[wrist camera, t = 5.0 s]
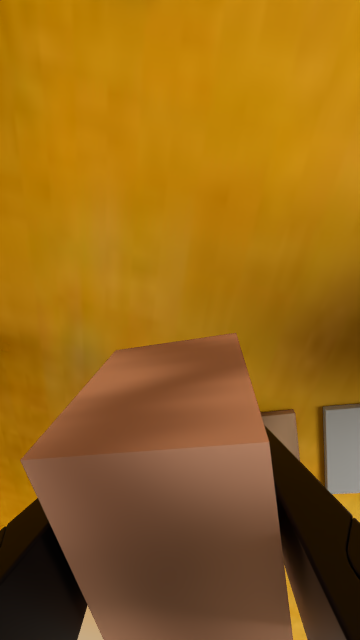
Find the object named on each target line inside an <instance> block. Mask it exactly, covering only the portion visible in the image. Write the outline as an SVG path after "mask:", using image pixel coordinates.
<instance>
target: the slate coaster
mask: <svg viewBox="0 0 360 640" xmlns="http://www.w3.org/2000/svg"><path fill="white" fill-rule="evenodd" d="M323 425H324V461H325V488H326V489H327V490H328V491H329V492H330V493H331V494H340V493H360V404H349V405H336V406H324V407H323Z"/></svg>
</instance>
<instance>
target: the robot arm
mask: <svg viewBox="0 0 360 640" xmlns="http://www.w3.org/2000/svg"><path fill="white" fill-rule="evenodd" d="M264 427H265V430H266V433H267V436H268V440H269V445H270V453H271V461H272V470H273V478H274V486H275V494H276V503H277V511H278V519H279V528H280V536H281V544H282V553H283V561H284V565H285V568H286V572H287V575H288V578H289V581H290V584H291V588H292V591H293V594H294V597H295V600H296V604H297V607H298V610H299V613H300V616H301V620H302V623H303V626H304V629H305V632H306V636H307V639H308V640H360V523H359V522H358V520H357V519H355V518H353V516H352V514H351V513H350V512H349V511H348V510H347V509H346V508H345V507H344V506H343V505H342V504H341V503H340V502H339V501H338V500H337V499H336V498H335V497H334V496H333V495H332V494H331V493H330V492H329V491H328V490H327V489H326V488H325V487H324V486H323V485H322V484H321V482H320V481H319V480H318V479H317V478H316V477H315V476H314V475H313V474H312V473H311V472H310V471H309V470H308V469H307V468H306V467H305V466H304V465H303V464H302V463H301V462H300V461H299V460H298V459H297V458H296V457H295V456H294V455H293V454H292V453H291V452H290V451H289V449H288V448H287V447H286V446H285V445H284V444H283V443H282V442H281V441H280V440H279V439H278V438H277V437H276V436H275V435H274V434H273V433H272V432H271V431H270V430H269V429H268V428H267V427H266V426H265V425H264ZM86 608H87V602H86V600H85V598H84V596H83V594H82V592H81V590H80V587H79V585H78V583H77V581H76V579H75V577H74V574H73V572H72V570H71V568H70V566H69V564H68V562H67V559H66V557H65V555H64V553H63V551H62V549H61V546H60V544H59V542H58V540H57V538H56V536H55V534H54V531H53V529H52V527H51V525H50V523H49V521H48V519H47V516H46V514H45V512H44V510H43V508H42V506H41V503H40V501H39V499H38V498H37V499H36V500H35V501H34V502H33V503H32V504H30V505H29V506H28V507H27V508H26V509H25V510H23V511H22V512H21V513H20V514H19V515H18V516H16V517H15V518H14V519H13V520H12V521H11V522H9V523H8V525H7V527H4V528H2V529H1V530H0V640H77V639H78V635H79V632H80V629H81V625H82V622H83V618H84V615H85V612H86Z"/></svg>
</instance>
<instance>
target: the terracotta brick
mask: <svg viewBox="0 0 360 640" xmlns="http://www.w3.org/2000/svg"><path fill="white" fill-rule="evenodd" d="M21 463H22V465H23V467H24V469H25V471H26V473H27V475H28V478H29V480H30V482H31V484H32V486H33V488H34V491H35V493H36V495H37V497H38V499H39V501H40V503H41V506H42V508H43V510H44V512H45V514H46V516H47V519H48V521H49V523H50V525H51V527H52V529H53V531H54V534H55V536H56V538H57V540H58V542H59V544H60V546H61V549H62V551H63V553H64V555H65V557H66V559H67V562H68V564H69V566H70V568H71V570H72V572H73V574H74V577H75V579H76V581H77V583H78V585H79V587H80V590H81V592H82V594H83V596H84V598H85V600H86V602H87V605H88V607H89V609H90V611H91V613H92V615H93V617H94V619H95V622H96V624H97V626H98V628H99V630H100V633H101V635H102V637H103V639H104V640H293V636H292V628H291V619H290V611H289V603H288V594H287V586H286V578H285V569H284V561H283V553H282V544H281V536H280V528H279V519H278V511H277V503H276V494H275V486H274V478H273V470H272V461H271V453H270V445H269V440H268V436H267V433H266V430H265V427H264V423H263V420H262V417H261V413H260V410H259V407H258V404H257V400H256V397H255V394H254V390H253V387H252V384H251V381H250V377H249V374H248V371H247V367H246V364H245V361H244V358H243V354H242V351H241V348H240V344H239V341H238V338H237V335H236V333H233V334H226V335H219V336H212V337H205V338H198V339H191V340H184V341H177V342H171V343H164V344H157V345H150V346H143V347H136V348H129V349H122V350H116V351H115V352H114V353H113V354H112V355H111V356H110V358H109V359H108V360H107V361H106V362H105V363H104V365H103V366H102V367H101V368H100V369H99V370H98V371H97V373H96V374H95V375H94V376H93V377H92V378H91V380H90V381H89V382H88V383H87V384H86V385H85V386H84V388H83V389H82V390H81V391H80V392H79V393H78V395H77V396H76V397H75V398H74V399H73V400H72V401H71V403H70V404H69V405H68V406H67V407H66V408H65V409H64V411H63V412H62V413H61V414H60V415H59V416H58V418H57V419H56V420H55V421H54V422H53V423H52V424H51V426H50V427H49V428H48V429H47V430H46V431H45V433H44V434H43V435H42V436H41V437H40V438H39V439H38V441H37V442H36V443H35V444H34V445H33V446H32V447H31V449H30V450H29V451H28V452H27V453H26V454H25V456H24V457H23V458H22V459H21Z"/></svg>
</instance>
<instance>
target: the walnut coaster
mask: <svg viewBox="0 0 360 640" xmlns="http://www.w3.org/2000/svg"><path fill="white" fill-rule="evenodd" d="M261 417H262V420H263V423H264V425H265V426H266V427H267V428H268V429H269V430H270V431H271V432H272V433H273V434H274V435H275V436H276V437H277V438H278V439H279V440H280V441H281V442H282V443H283V444H284V445H285V446H286V447H287V448H288V449H289V451H290V452H291V453H292V454H293V455H294V456H295V457H296V458H297V459H298V460H299V461H300V457H299V448H298V438H297V428H296V418H295V412H294V410H293V409H291V410H281V411H272V412H262V413H261Z"/></svg>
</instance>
